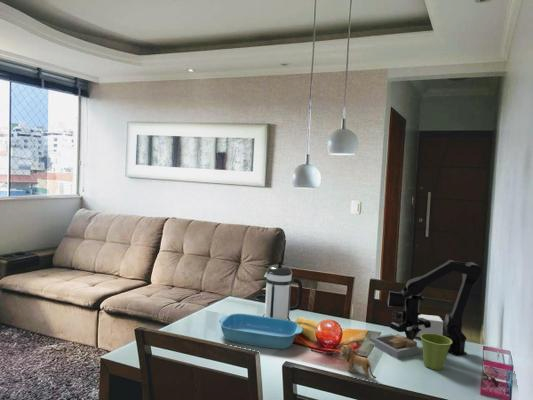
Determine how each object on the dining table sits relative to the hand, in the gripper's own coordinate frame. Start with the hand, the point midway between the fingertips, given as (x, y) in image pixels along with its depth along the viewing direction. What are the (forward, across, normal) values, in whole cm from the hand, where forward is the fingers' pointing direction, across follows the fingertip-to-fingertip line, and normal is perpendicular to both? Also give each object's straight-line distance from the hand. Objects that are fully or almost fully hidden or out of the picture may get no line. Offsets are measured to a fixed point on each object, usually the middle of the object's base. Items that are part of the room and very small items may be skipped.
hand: (409, 343), depth 191 cm
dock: (+1, +10, 0) cm, 10 cm away
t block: (+1, +7, +1) cm, 7 cm away
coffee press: (+1, +40, -48) cm, 62 cm away
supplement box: (-3, -11, -13) cm, 17 cm away
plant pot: (+1, +6, +19) cm, 20 cm away
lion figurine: (+1, +40, +13) cm, 42 cm away
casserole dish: (+1, +59, -29) cm, 66 cm away
